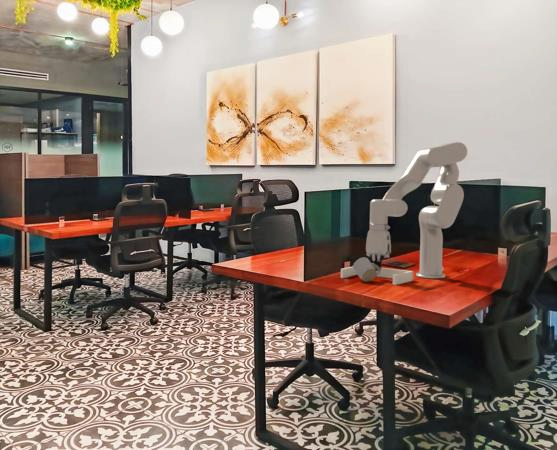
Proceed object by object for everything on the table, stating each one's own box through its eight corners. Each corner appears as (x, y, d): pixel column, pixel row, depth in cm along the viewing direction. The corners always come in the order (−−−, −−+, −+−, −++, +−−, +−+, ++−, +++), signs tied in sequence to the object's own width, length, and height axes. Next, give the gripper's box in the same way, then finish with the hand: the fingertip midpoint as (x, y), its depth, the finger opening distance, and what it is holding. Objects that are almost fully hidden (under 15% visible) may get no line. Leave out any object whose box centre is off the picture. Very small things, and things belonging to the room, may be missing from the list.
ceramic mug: (362, 285, 212) (362, 273, 207) (353, 273, 218) (352, 260, 213) (384, 276, 214) (384, 263, 209) (374, 264, 220) (374, 251, 215)
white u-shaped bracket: (359, 274, 234) (360, 265, 234) (413, 280, 216) (413, 271, 216) (340, 277, 222) (340, 268, 222) (395, 285, 205) (395, 275, 205)
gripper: (398, 228, 217) (397, 271, 218) (368, 226, 227) (367, 267, 228) (389, 229, 211) (388, 273, 212) (358, 227, 221) (357, 269, 222)
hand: (377, 270), depth 220 cm, fingers closed
